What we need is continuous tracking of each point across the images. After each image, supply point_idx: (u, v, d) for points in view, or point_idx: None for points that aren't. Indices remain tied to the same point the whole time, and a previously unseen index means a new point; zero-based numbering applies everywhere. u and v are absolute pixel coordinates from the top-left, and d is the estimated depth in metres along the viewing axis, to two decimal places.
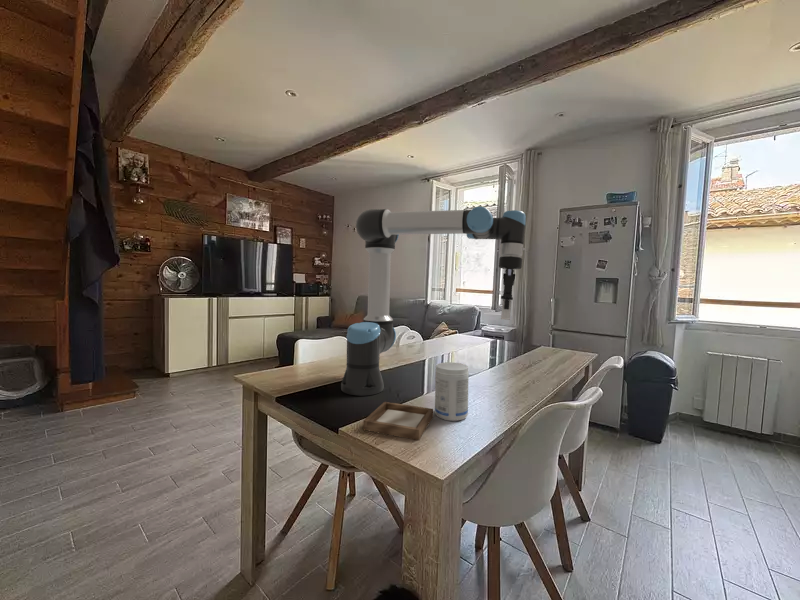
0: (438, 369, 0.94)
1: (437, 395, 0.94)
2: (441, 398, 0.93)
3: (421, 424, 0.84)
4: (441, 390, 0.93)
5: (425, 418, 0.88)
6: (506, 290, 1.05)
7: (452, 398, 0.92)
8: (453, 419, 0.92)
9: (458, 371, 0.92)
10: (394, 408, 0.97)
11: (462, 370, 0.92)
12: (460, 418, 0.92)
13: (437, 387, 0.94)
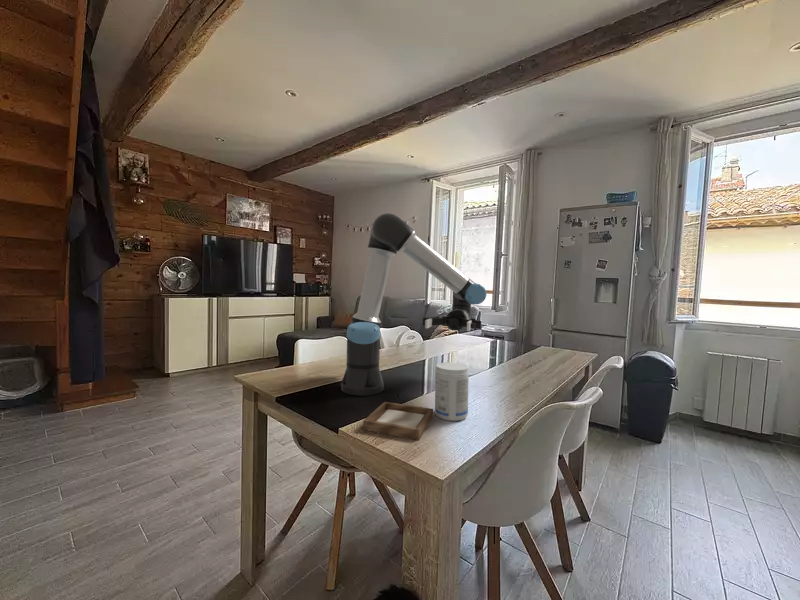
0: (438, 369, 0.94)
1: (437, 395, 0.94)
2: (441, 398, 0.93)
3: (421, 424, 0.84)
4: (441, 390, 0.93)
5: (425, 418, 0.88)
6: None
7: (452, 398, 0.92)
8: (453, 419, 0.92)
9: (458, 371, 0.92)
10: (394, 408, 0.97)
11: (462, 370, 0.92)
12: (460, 418, 0.92)
13: (437, 387, 0.94)
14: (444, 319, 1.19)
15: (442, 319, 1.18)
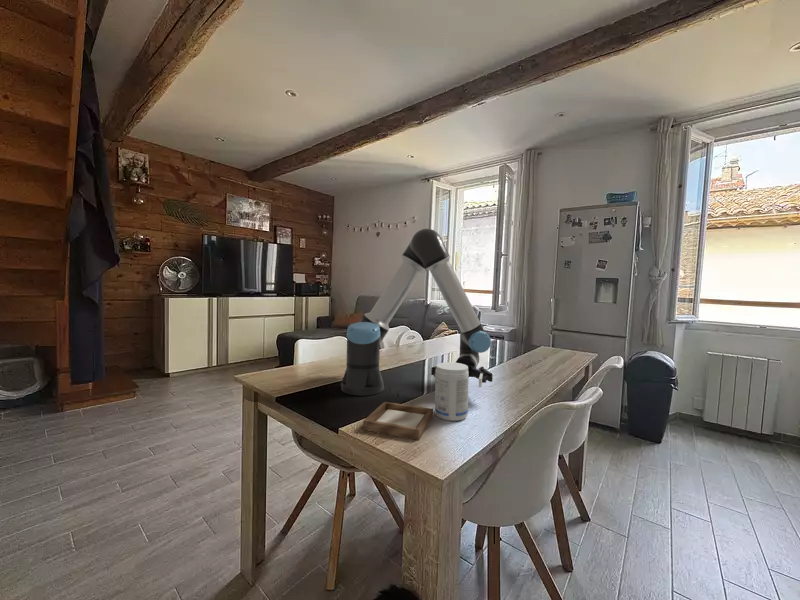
0: (438, 369, 0.94)
1: (437, 395, 0.94)
2: (441, 398, 0.93)
3: (421, 424, 0.84)
4: (441, 390, 0.93)
5: (425, 418, 0.88)
6: None
7: (452, 398, 0.92)
8: (453, 419, 0.92)
9: (458, 371, 0.92)
10: (394, 408, 0.97)
11: (462, 370, 0.92)
12: (460, 418, 0.92)
13: (437, 387, 0.94)
14: None
15: None
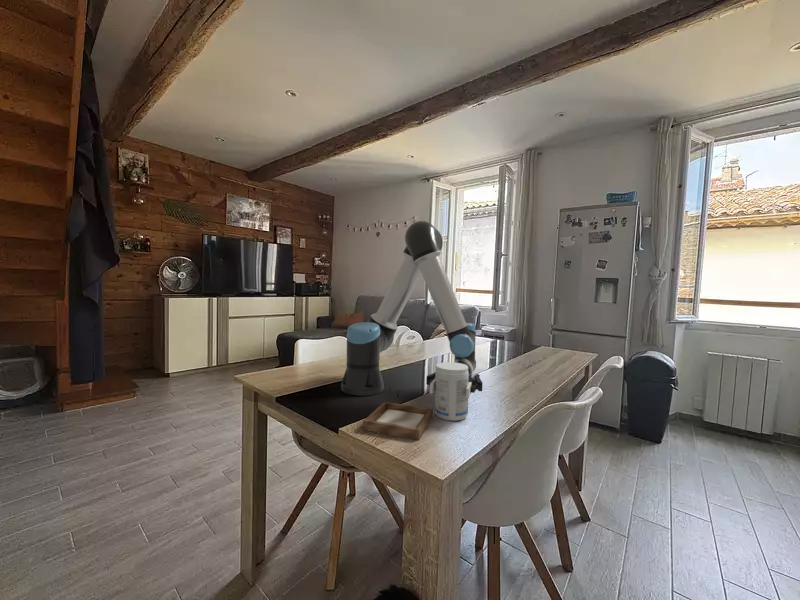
0: (438, 369, 0.94)
1: (437, 395, 0.94)
2: (441, 397, 0.93)
3: (421, 424, 0.84)
4: (441, 390, 0.93)
5: (425, 418, 0.88)
6: None
7: (452, 398, 0.92)
8: (453, 419, 0.92)
9: (458, 371, 0.92)
10: (394, 408, 0.97)
11: (462, 370, 0.92)
12: (460, 418, 0.92)
13: (437, 387, 0.94)
14: None
15: None
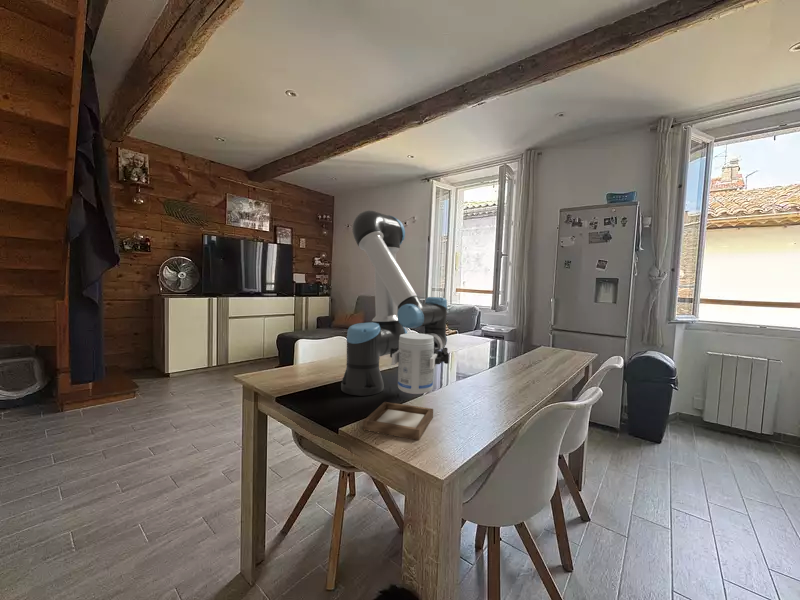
0: (401, 339, 0.87)
1: (400, 367, 0.88)
2: (403, 369, 0.86)
3: (421, 424, 0.84)
4: (403, 361, 0.86)
5: (425, 418, 0.88)
6: None
7: (415, 369, 0.85)
8: (416, 392, 0.86)
9: (422, 340, 0.85)
10: (394, 408, 0.97)
11: (426, 339, 0.85)
12: (423, 391, 0.86)
13: (400, 358, 0.88)
14: None
15: None
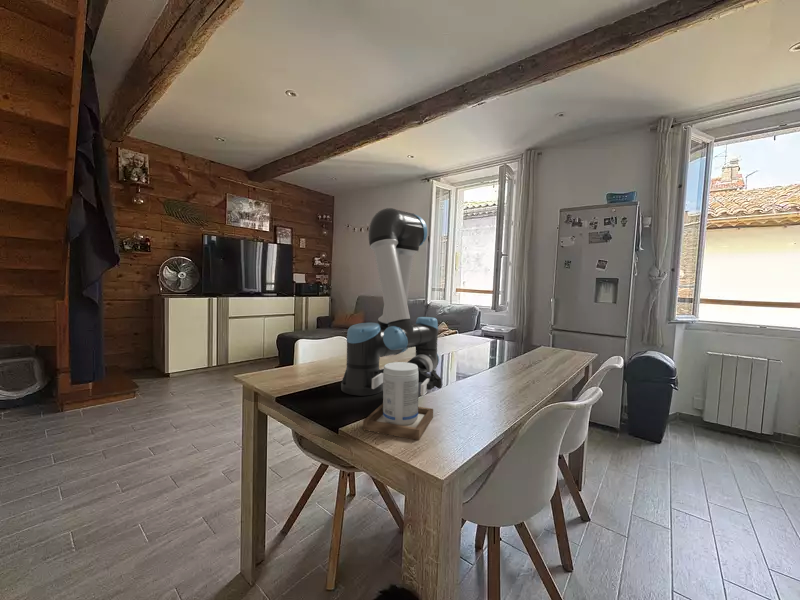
0: (385, 369, 0.87)
1: (384, 397, 0.88)
2: (387, 400, 0.86)
3: (421, 424, 0.84)
4: (387, 392, 0.86)
5: (425, 418, 0.88)
6: None
7: (398, 400, 0.85)
8: (400, 424, 0.85)
9: (405, 372, 0.85)
10: None
11: (410, 370, 0.85)
12: (407, 422, 0.86)
13: (384, 389, 0.88)
14: None
15: None
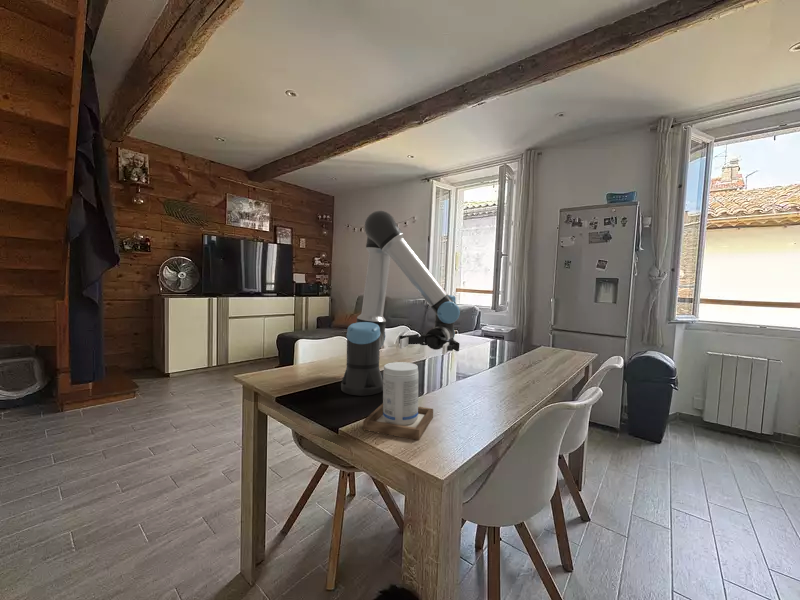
0: (385, 369, 0.87)
1: (384, 397, 0.88)
2: (387, 400, 0.86)
3: (421, 424, 0.84)
4: (387, 392, 0.86)
5: (425, 418, 0.88)
6: None
7: (398, 400, 0.85)
8: (400, 424, 0.85)
9: (405, 372, 0.85)
10: None
11: (409, 370, 0.85)
12: (407, 422, 0.86)
13: (384, 389, 0.88)
14: (422, 338, 1.13)
15: (420, 338, 1.12)
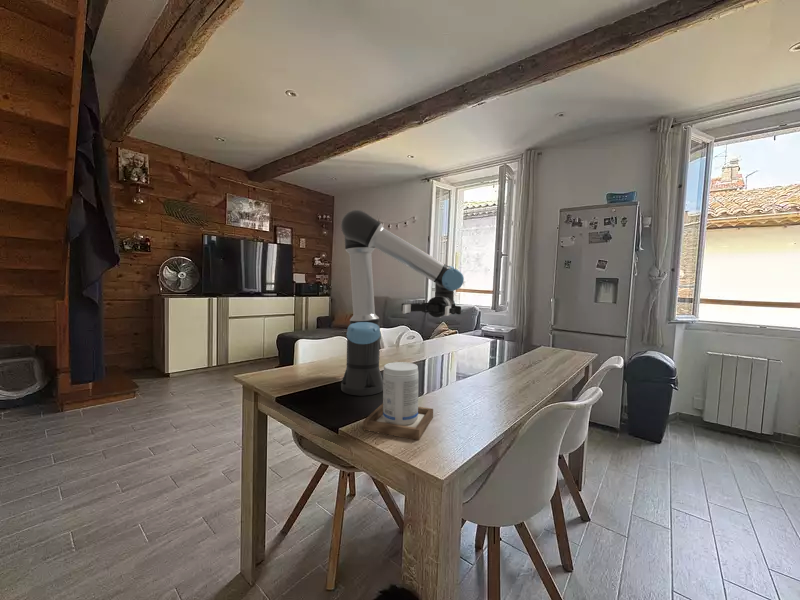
0: (385, 369, 0.87)
1: (384, 397, 0.88)
2: (387, 400, 0.86)
3: (421, 424, 0.84)
4: (387, 392, 0.86)
5: (425, 418, 0.88)
6: None
7: (398, 400, 0.85)
8: (400, 424, 0.85)
9: (405, 372, 0.85)
10: None
11: (409, 370, 0.85)
12: (407, 422, 0.86)
13: (384, 389, 0.88)
14: (424, 305, 1.15)
15: (422, 305, 1.15)
